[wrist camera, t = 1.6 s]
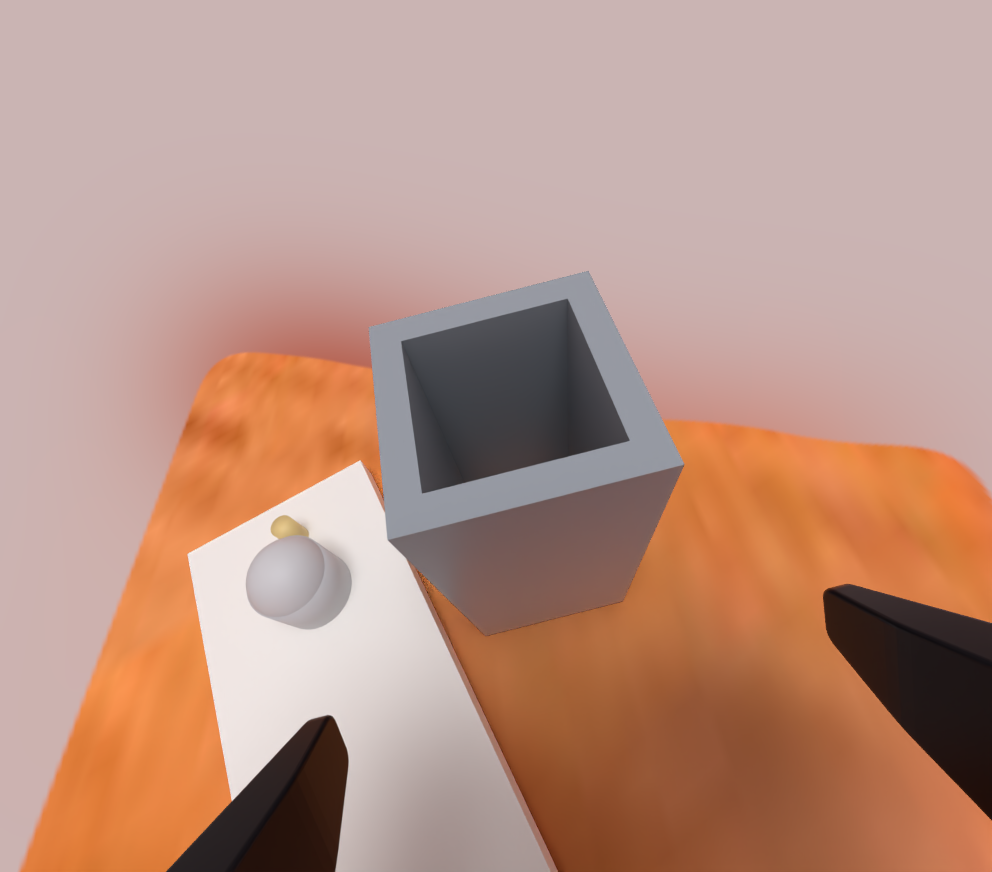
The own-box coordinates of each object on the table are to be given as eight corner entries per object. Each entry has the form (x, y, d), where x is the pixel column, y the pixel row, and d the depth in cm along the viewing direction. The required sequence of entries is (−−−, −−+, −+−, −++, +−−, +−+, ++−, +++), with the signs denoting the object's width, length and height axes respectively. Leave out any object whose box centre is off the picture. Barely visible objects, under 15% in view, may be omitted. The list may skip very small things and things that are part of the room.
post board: (561, 879, 15) (558, 943, 11) (311, 1067, 14) (193, 1226, 10) (371, 473, 25) (327, 420, 20) (208, 562, 23) (123, 526, 19)
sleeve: (622, 601, 20) (684, 464, 9) (485, 636, 20) (387, 540, 9) (579, 478, 23) (588, 270, 12) (461, 508, 23) (368, 327, 12)
